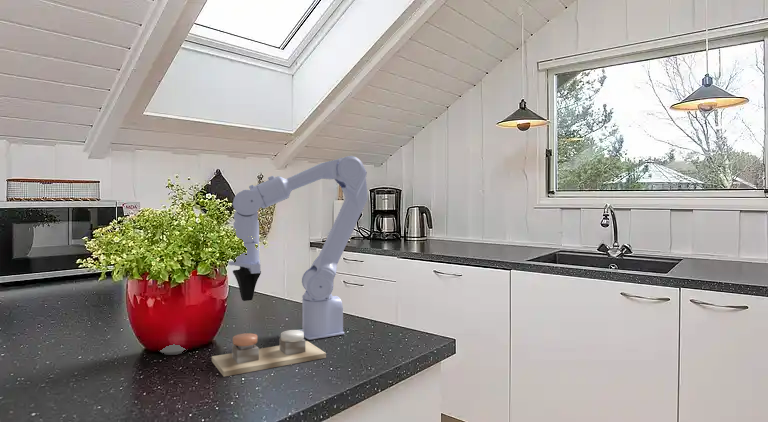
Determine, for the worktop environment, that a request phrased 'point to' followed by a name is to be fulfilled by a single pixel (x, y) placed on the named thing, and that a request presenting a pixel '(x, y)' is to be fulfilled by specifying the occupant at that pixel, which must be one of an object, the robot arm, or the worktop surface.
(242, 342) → the peach round domed part
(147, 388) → the worktop surface
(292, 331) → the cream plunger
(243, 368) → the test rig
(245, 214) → the robot arm
